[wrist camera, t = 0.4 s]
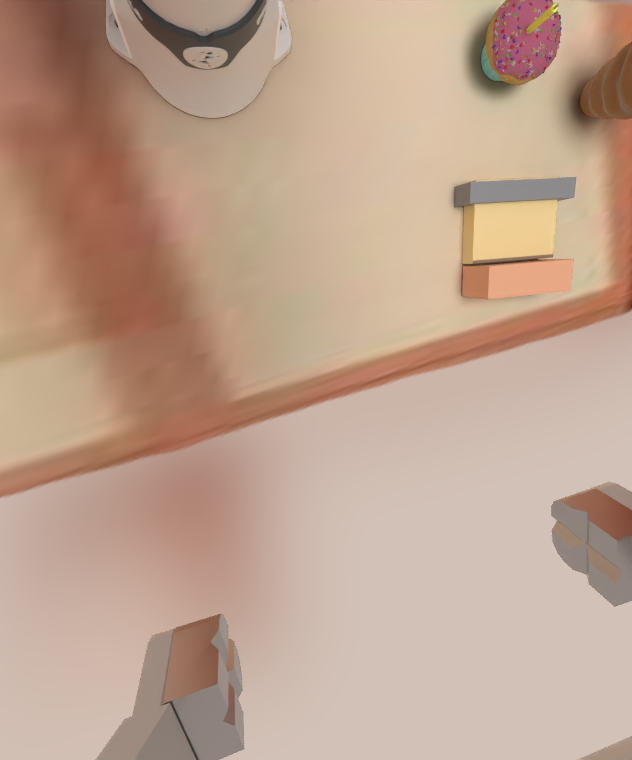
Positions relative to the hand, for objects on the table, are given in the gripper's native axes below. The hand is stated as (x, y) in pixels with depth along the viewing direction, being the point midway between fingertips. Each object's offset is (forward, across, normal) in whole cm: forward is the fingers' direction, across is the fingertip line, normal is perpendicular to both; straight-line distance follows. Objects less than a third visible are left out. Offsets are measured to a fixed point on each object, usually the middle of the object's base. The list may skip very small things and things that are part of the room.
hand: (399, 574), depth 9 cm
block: (+45, -34, +2) cm, 57 cm away
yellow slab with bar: (+45, -35, -5) cm, 58 cm away
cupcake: (+46, -36, -24) cm, 63 cm away
